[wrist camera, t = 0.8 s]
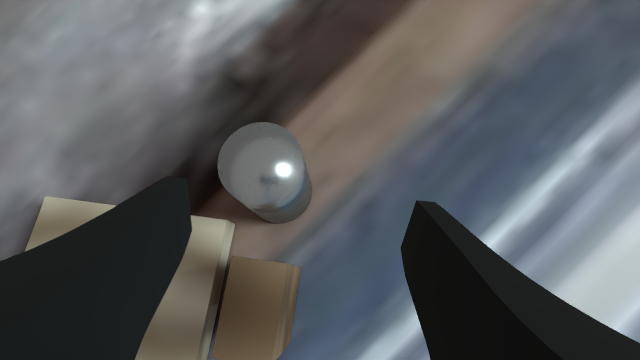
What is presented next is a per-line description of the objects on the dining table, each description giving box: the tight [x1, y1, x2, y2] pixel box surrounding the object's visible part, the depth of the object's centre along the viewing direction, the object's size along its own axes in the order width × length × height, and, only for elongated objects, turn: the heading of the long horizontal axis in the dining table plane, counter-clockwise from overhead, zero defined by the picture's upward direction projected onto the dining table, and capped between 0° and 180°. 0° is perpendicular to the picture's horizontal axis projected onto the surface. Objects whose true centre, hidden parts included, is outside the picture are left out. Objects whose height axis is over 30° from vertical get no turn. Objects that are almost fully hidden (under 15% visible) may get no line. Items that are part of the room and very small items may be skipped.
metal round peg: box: [218, 122, 312, 223], centre depth 23 cm, size 5×5×7 cm
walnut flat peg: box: [211, 256, 301, 360], centre depth 21 cm, size 5×3×7 cm, turn 172°
